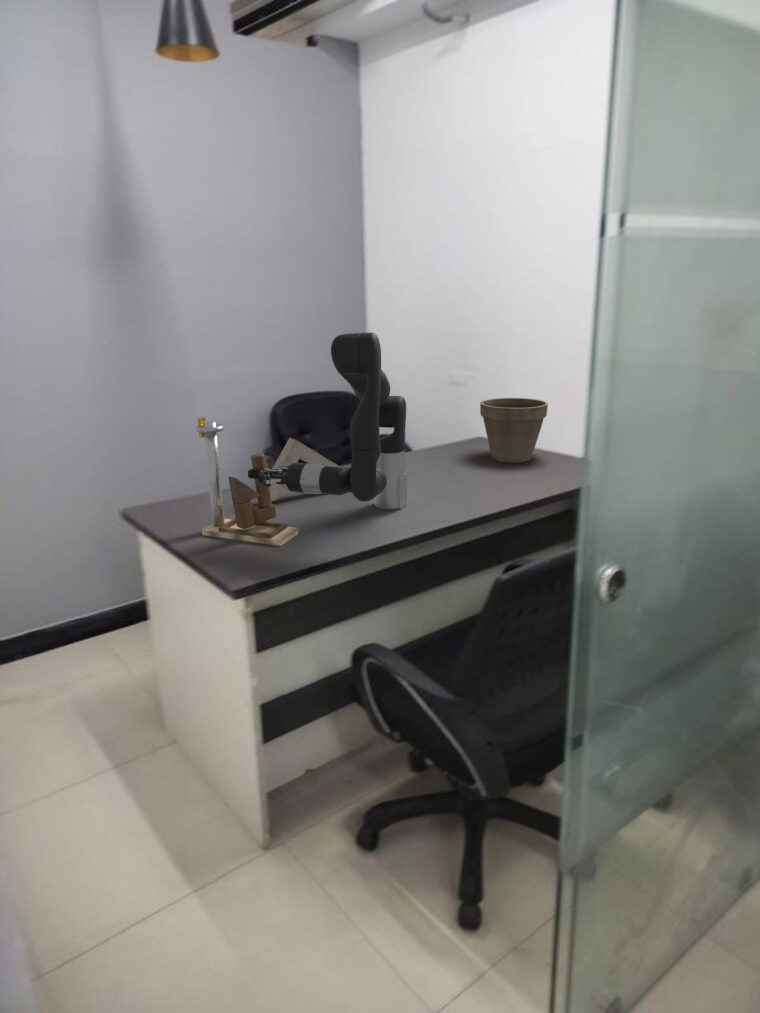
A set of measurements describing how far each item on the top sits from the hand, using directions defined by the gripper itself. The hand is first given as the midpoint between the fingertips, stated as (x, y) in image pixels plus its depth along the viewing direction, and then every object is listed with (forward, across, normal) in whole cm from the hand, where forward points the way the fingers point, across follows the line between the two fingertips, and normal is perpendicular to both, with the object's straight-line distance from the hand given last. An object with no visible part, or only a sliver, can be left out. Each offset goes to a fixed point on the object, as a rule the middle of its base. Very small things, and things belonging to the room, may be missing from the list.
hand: (249, 473), depth 179 cm
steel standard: (+11, 0, +17) cm, 20 cm away
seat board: (+1, 0, +17) cm, 17 cm away
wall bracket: (+1, -38, +17) cm, 42 cm away
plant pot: (-50, -105, +17) cm, 118 cm away
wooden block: (-1, -1, +14) cm, 14 cm away
